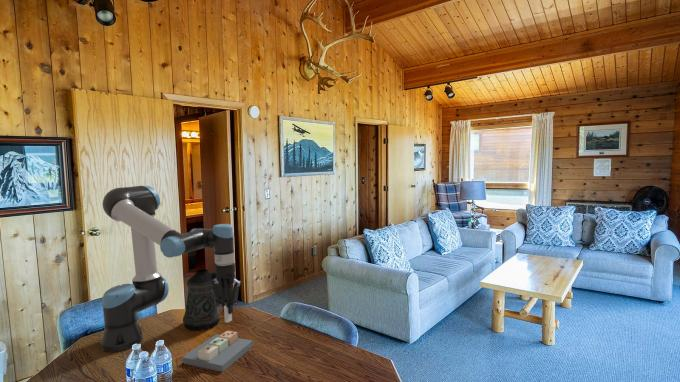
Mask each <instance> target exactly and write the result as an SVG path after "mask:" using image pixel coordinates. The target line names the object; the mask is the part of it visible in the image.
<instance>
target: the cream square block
mask: <svg viewBox="0 0 680 382" xmlns="http://www.w3.org/2000/svg"><path fill="white" fill-rule="evenodd" d="M216 356H218V346H212V345H206V346H204V347H203V348H201V349H200V350H199V351H198V359H199V360H204V361H209V362H210V361H211V360H212V359H214V358H215V357H216Z"/></svg>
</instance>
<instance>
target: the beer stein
mask: <svg viewBox="0 0 680 382" xmlns="http://www.w3.org/2000/svg"><path fill="white" fill-rule="evenodd" d="M216 275H217V274H216V272H212V271H209V269H198V270H196V271H195V273H193V275H192V276H190V277H189V278H188V279H187V281H186V285H187V287H188V290H187V296H186V297H187V299H186V307H185V311H184V315H183V317H182V323H183V327H184V328H183V329H185V330H187V331H190V332H201V331H207V330H210V329H213V328H215V327H217V326H218V325H219V324H220V321H221V311H220V310H219V307H218V306H219V305H220V304H218V302H217V298H216V294H215V290H214V286H213V284H212V283H211V281H212V280H214V279H215V278H216Z"/></svg>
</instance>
